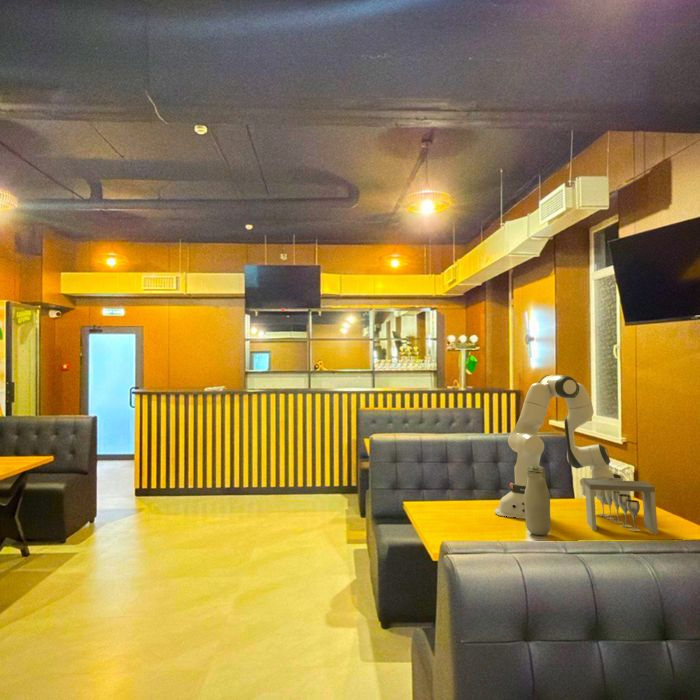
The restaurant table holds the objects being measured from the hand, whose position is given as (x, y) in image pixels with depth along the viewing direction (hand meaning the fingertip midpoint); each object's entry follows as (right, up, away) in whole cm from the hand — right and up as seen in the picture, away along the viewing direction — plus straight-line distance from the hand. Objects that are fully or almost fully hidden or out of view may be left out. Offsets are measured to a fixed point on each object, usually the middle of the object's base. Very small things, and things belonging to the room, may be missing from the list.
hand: (608, 504), depth 218 cm
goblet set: (-2, -5, -11) cm, 12 cm away
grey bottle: (-43, -4, -26) cm, 51 cm away
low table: (-6, -4, -20) cm, 21 cm away
